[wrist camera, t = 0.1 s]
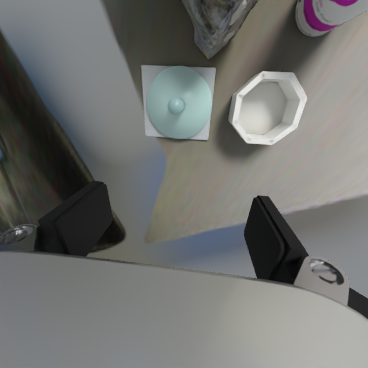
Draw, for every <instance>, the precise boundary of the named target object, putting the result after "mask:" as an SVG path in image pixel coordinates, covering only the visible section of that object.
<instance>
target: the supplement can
mask: <svg viewBox="0 0 368 368" xmlns="http://www.w3.org/2000/svg"><path fill="white" fill-rule="evenodd" d="M367 10H368V0H298V2H297V6H296V22H297V25H298V28H299V29H300V30H301V31H302V33H303V34H305V35H308V36H311V37H314V36H321V35H323V34H325V33H327V32H329V31H331V30H333V29H335V28H336V27H338V26H340V25H342V24H344V23H345V22H347V21H349V20H351V19H353V18H355V17H356V16H358V15H360V14H362V13H364V12H366V11H367Z"/></svg>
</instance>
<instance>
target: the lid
mask: <svg viewBox="0 0 368 368" xmlns="http://www.w3.org/2000/svg"><path fill="white" fill-rule="evenodd" d="M147 109H148V113H149V116H150V119H151V121H152V122H153V124H154V125H155V127H156V128H157V129H158V130H159V131H160V132H161V133H163V134H164V135H166V136H168V137H171V138H175V139H185V138H189V137H191V136H194V135H195V134H197V133H198V132H199V131H201V130H202V129H203V127H204V126H205V125H206V123H207V121H208V119H209V117H210V114H211V109H212V97H211V92H210V89H209V86H208V84H207V83H206V81H205V79H204V78H203V77H202V76H201V75H200V74H199V73H198V72H196V71H195V70H193V69H191V68H189V67H185V66H173V67H169V68H167V69H165V70H163V71H162V72H160V73H159V74H158V75H157V76H156V77H155V78H154V80H153V81H152V83H151V85H150V88H149V90H148V94H147Z"/></svg>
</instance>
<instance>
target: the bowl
mask: <svg viewBox="0 0 368 368" xmlns="http://www.w3.org/2000/svg"><path fill="white" fill-rule="evenodd" d="M306 100H307V96H306V94H305V92H304V91H303V89H302V87H301V85H300V83H299V82H298V80H297V78H296V76H295V74H294V73H293V72H267V71H263V72H260V73H258V74H256V75H254V76H253V77H252V78H251V79H249V80H248V81H247V82H246V83H245V84H244V85H243V86H242V87H241V88H240V89H238V90H237V91H236V92H235V93H234V94H233V95H232V100H231V106H230V112H229V119H228V121H229V122H230V124H231V125H232V126H233V128H234V129H235V130H236V132H237V133H238V134H239V136H240V137H241V138H242V139H243V140H244V141H245V142H246V143H252V144H266V145H273V144H274V143H276V142H277V141H278V140H280V139H281V138H283V137H284V136H286V135H287V134H288V133H290V132H291V131H293V130H294V129H296V128H297V126H298V123H299V120H300V117H301V115H302V112H303V109H304V106H305V103H306Z"/></svg>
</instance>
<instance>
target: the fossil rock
mask: <svg viewBox="0 0 368 368" xmlns="http://www.w3.org/2000/svg"><path fill="white" fill-rule="evenodd" d="M181 1H182V3H183V5H184V6H185V8H186V10H187V12H188V14H189V16H190V19H191V20H192V23H193V25H194V29H195V31H194V42H195V44H196V46H197V47H198V48H199V49H200V50H201V52H202V53H203V54H204V55H205V56H206V58H207V59H208V60H209V59H211V58H212V57H213V56H214V55H215V54H217V53H218V52H219V51H220V50H221V49H222V47H223V46H225V45H226V44H227V43H228V42H229V40H230V39H232V38H233V37H234V36H235V35H236V33H237V32H238V30H239V29H240V28H241V26H242V24H243V22H244V21H245V19H246V17H247V15H248V14H249V12H250V10H251V9H252V8H253V7H254V6H255V4H256V3H257V2H258V0H181Z"/></svg>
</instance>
